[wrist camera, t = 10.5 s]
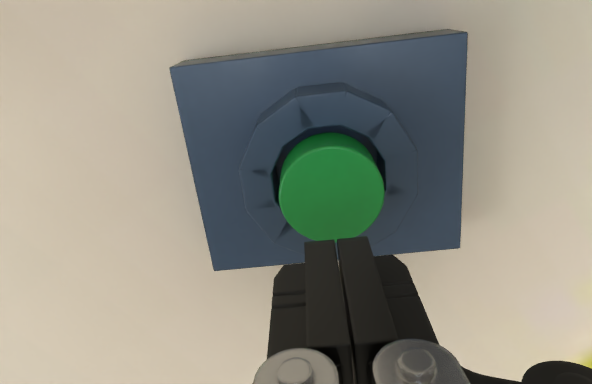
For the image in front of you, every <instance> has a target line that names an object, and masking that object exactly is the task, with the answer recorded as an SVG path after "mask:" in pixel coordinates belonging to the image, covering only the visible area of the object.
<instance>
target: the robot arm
mask: <svg viewBox="0 0 592 384" xmlns="http://www.w3.org/2000/svg"><path fill="white" fill-rule="evenodd" d="M337 250H338V260H337V253H336V247H335V240H334V239H332V240H322V241H312V242H304V251H305V263H299V264H288V265H284V266H283V267H282V268H281V270H280V271H279V273H278V274H277V275H276V277H275V278H274V286H273V297H272V309H271V320H270V331H269V342H268V353H267V360H266V361H265V362H264V363H263V364H262V365H261V366H260V367H259V369H258V371H257V372H256V375H255V378H254V382H253V384H592V369H591V368H588V367H586V366H583V365H580V364H576V363H571V362H565V361H547V362H542V363H538V364H536V365H534V366H532V367H531V368H529V369H528V370H527V371H526V373H525V374H524V376H523V379H522V382H518V381H512V380H506V379H501V378H495V377H489V376H485V375H481V374H478V373H475V372H472V371H470V370H467V369H465V368H463V367H462V366H460V364H459V362H458V361H457V359H456V358H455V357H454V356H453V355H452V354H451V353H450V352H449V351H448V350H447V349H445V348H444V347H442V346H440V345H439V343H438V340H437V338H436V336H435V333H434V331H433V328H432V326H431V324H430V321H429V319H428V316H427V314H426V312H425V309H424V307H423V304H422V302H421V300H420V297H419V296H418V292H417V290H416V288H415V285H414V283H413V280H412V278H411V276H410V273H409V271H408V268H407V266H406V265H405V264H403V263H402V262H401V261H400V260H398V259H397V258H396V257H395V256H393V255H383V256H373V253H372V250H371V246H370V243H369V240H368V237H367V236H363V237H352V238H342V239H337ZM338 262H339V266H338Z"/></svg>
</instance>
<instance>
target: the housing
mask: <svg viewBox="0 0 592 384" xmlns="http://www.w3.org/2000/svg"><path fill="white" fill-rule="evenodd" d="M467 38H468V33H467V32H463V31H457V30H451V29H445V30H436V31H428V32H420V33H411V34H403V35H394V36H386V37H378V38H369V39H361V40H352V41H344V42H336V43H327V44H319V45H311V46H302V47H294V48H285V49H277V50H269V51H260V52H252V53H243V54H235V55H227V56H218V57H210V58H202V59H193V60H185V61H182V62H180V63H178V64H176V65H174V66H172V67H170V73H171V78H172V82H173V87H174V92H175V96H176V101H177V105H178V110H179V114H180V119H181V123H182V128H183V133H184V137H185V142H186V146H187V151H188V155H189V160H190V164H191V169H192V173H193V178H194V183H195V187H196V192H197V196H198V201H199V205H200V210H201V214H202V219H203V223H204V228H205V233H206V237H207V242H208V246H209V251H210V255H211V260H212V264H213V269H214V271H220V270H231V269H241V268H252V267H263V266H274V265H284V264H295V263H305V251H304V242H312V241H315V240H312V239H309V238H307V237H305V236H303V235H301V234H300V233H298V232H297V231H296V230H295V229H293V228H292V226H291V225H290V224H289V223H288V222H287V220H286V219H285V217H284V215H283V213H282V211H281V208H280V204H279V184H280V176H281V170H282V166H283V163H284V161H285V159H286V157H287V155H288V154H289V152H290V151H291V150H292V149H293V148H294V147H295V146H296V145H297V144H298V143H299V142H301V141H302V140H304V139H306V138H308V137H310V136H312V135H316V134H320V133H329V132H332V133H340V134H345V135H347V136H350V137H352V138H354V139H356V140H357V141H359V142H360V143H362V144H363V145H364V146H365V147H366V148H367V150H368V151H369V152H370V154H371V155H372V157H373V159H374V161H375V163H376V165H377V167H378V170H379V172H380V174H381V176H382V179H383V183H384V190H385V194H384V202H383V206H382V209H381V211H380V213H379V215H378V217H377V218H376V220H375V221H374V222H373V224H372V225H371V226H370V227H369V228H368V229H367V230H365V231H364V232H363V233H361V234H360V235H358V236H356V237H363V236H367V237H368V240H369V243H370V246H371V250H372V253H373V256H381V255H392V254H403V253H413V252H424V251H435V250H446V249H456V248H460V236H461V208H462V180H463V151H464V123H465V95H466V67H467ZM335 247H336V253H337V260H338V250H337V242H335Z"/></svg>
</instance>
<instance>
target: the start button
mask: <svg viewBox="0 0 592 384" xmlns="http://www.w3.org/2000/svg"><path fill="white" fill-rule="evenodd" d="M384 194H385V190H384V183H383V179H382V176H381V174H380V172H379V170H378V167H377V165H376V163H375V161H374V159H373V157H372V155H371V154H370V152H369V151H368V150H367V148H366V147H365V146H364V145H363V144H362V143H360V142H359V141H357V140H356V139H354V138H352V137H350V136H347V135H345V134H340V133H332V132H329V133H320V134H316V135H312V136H310V137H308V138H306V139H304V140H302V141H301V142H299V143H298V144H297V145H296V146H295V147H294V148H293V149H292V150H291V151H290V152H289V154H288V155H287V157H286V159H285V161H284V163H283V166H282V170H281V176H280V184H279V204H280V208H281V211H282V213H283V215H284V217H285V219H286V220H287V222H288V223H289V224H290V225H291V226H292V228H293V229H295V230H296V231H297V232H298V233H300V234H301V235H303V236H305V237H307V238H309V239H312V240H315V241H322V240H332V239H334V240H335V242H337V239H342V238H352V237H356V236H358V235H360V234H361V233H363V232H364V231H365V230H367V229H368V228H369V227H370V226H371V225H372V224H373V222H374V221H375V220H376V218H377V217H378V215H379V213H380V211H381V209H382V206H383V202H384Z"/></svg>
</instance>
